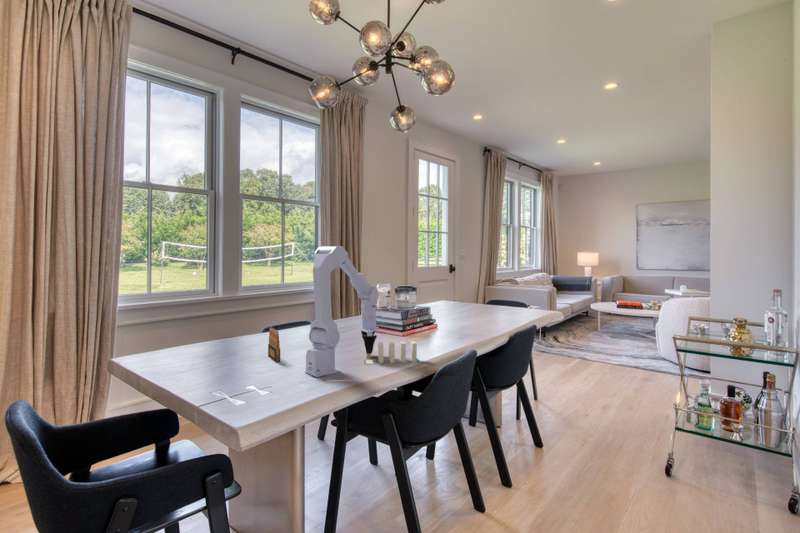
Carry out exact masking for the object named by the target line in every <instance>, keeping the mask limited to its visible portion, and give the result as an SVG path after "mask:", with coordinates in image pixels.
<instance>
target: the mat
mask: <svg viewBox="0 0 800 533" xmlns="http://www.w3.org/2000/svg"><path fill="white" fill-rule="evenodd" d="M363 364H364V366H369V365H370V366H371V365H373V366H374V365H392V364H393V365H397V364H398V365H399V364H421V361H420V360H419V358H418V357H417V362H412V361H411V357H406V362H401V361H400V358H395V363H390V361H389V358H383V363H379V361H378V358H373V359H372V358H371V359H363Z"/></svg>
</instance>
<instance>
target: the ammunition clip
mask: <svg viewBox="0 0 800 533" xmlns="http://www.w3.org/2000/svg"><path fill="white" fill-rule="evenodd" d="M280 343H281V342H280V336H279V331H278V330H277V329H276V328H274V327H272V326H270V328H269V334H268V344H267V346H268V350H267V356H268V358H269V357H270V359H271V360H272V361H273V362H274V361H275V363H280V362H281V348H280Z"/></svg>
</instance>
